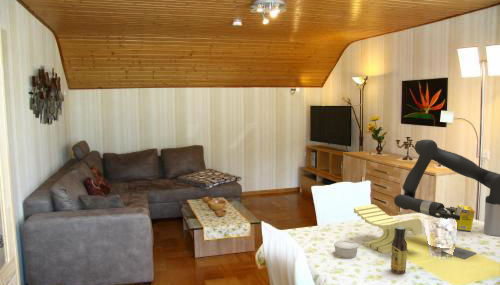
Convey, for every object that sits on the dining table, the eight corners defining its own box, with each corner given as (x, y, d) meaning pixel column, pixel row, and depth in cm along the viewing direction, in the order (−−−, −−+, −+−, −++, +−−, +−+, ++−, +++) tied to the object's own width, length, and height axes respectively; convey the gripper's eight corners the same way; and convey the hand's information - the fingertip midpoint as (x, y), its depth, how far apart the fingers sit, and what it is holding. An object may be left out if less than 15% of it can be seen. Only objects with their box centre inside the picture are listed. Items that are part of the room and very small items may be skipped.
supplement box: (471, 232, 194) (475, 210, 192) (457, 230, 195) (461, 209, 193) (466, 227, 200) (471, 206, 198) (453, 225, 201) (457, 204, 199)
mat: (453, 247, 208) (453, 246, 208) (476, 253, 199) (476, 252, 199) (441, 252, 201) (441, 251, 201) (464, 259, 192) (464, 258, 192)
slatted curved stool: (420, 253, 200) (422, 217, 199) (396, 259, 193) (397, 222, 191) (376, 235, 227) (376, 203, 225) (353, 240, 220) (353, 207, 218)
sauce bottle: (388, 268, 183) (389, 225, 181) (402, 268, 184) (403, 224, 182) (394, 275, 177) (395, 229, 175) (408, 274, 177) (410, 229, 175)
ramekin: (358, 251, 204) (358, 241, 203) (356, 260, 193) (357, 249, 193) (335, 249, 207) (335, 239, 207) (332, 257, 197) (332, 247, 196)
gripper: (424, 203, 205) (456, 211, 192) (440, 199, 213) (472, 206, 200) (423, 218, 206) (456, 226, 193) (439, 213, 214) (471, 221, 201)
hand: (464, 216), depth 197 cm, fingers closed on supplement box, 8 cm apart
